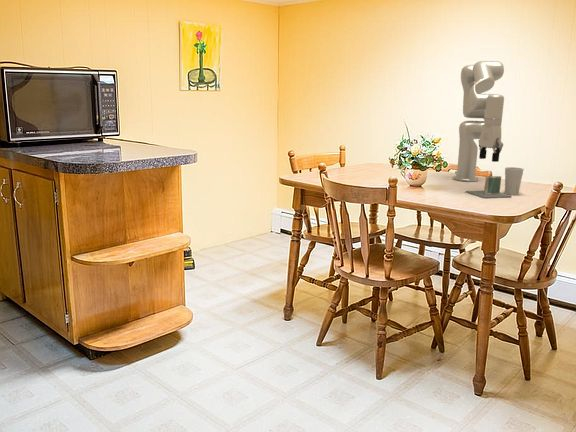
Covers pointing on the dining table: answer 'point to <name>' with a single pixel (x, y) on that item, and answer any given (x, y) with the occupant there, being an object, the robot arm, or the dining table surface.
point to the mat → (482, 195)
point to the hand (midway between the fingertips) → (488, 160)
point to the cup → (513, 180)
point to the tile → (492, 185)
